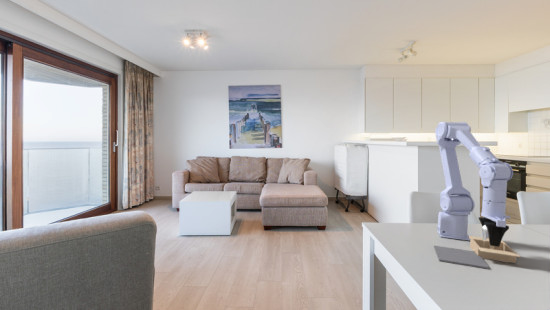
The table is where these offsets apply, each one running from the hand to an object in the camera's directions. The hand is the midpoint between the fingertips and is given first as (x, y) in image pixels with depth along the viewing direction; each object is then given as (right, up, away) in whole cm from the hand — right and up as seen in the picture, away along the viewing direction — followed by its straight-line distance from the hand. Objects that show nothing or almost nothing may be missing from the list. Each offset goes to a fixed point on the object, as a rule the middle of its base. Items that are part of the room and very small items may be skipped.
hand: (491, 243), depth 84 cm
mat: (-12, -4, -2) cm, 13 cm away
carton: (0, -4, 0) cm, 4 cm away
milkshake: (0, -4, 0) cm, 4 cm away
